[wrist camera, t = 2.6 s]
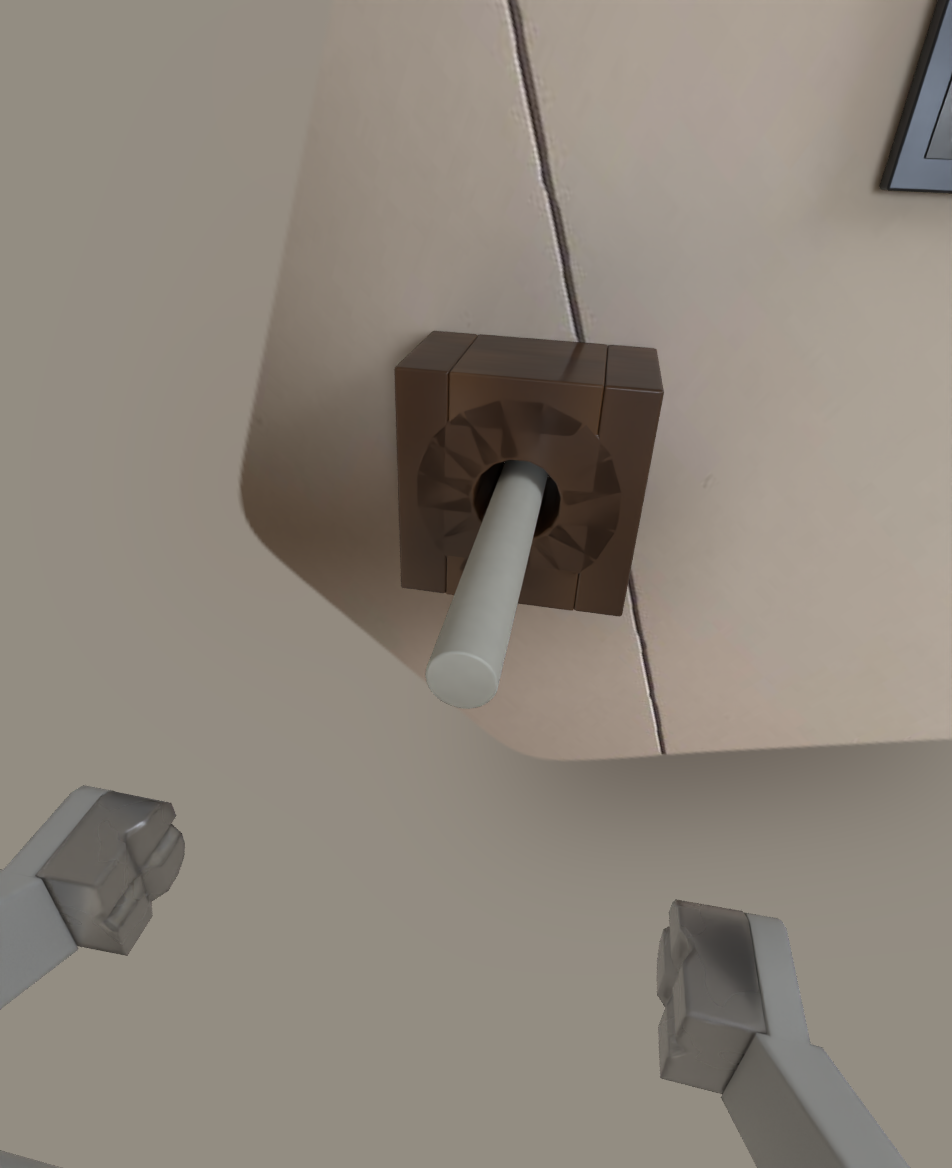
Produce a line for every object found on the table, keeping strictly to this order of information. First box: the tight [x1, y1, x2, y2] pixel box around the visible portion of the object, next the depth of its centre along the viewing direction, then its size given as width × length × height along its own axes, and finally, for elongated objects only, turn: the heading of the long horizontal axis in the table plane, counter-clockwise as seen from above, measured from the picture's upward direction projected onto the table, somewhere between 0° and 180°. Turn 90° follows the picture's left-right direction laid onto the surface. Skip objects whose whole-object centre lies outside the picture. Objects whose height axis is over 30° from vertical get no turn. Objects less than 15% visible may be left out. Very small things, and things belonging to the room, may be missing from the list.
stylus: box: [425, 460, 548, 709], centre depth 20 cm, size 2×2×14 cm
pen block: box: [395, 331, 664, 616], centre depth 24 cm, size 8×8×5 cm
